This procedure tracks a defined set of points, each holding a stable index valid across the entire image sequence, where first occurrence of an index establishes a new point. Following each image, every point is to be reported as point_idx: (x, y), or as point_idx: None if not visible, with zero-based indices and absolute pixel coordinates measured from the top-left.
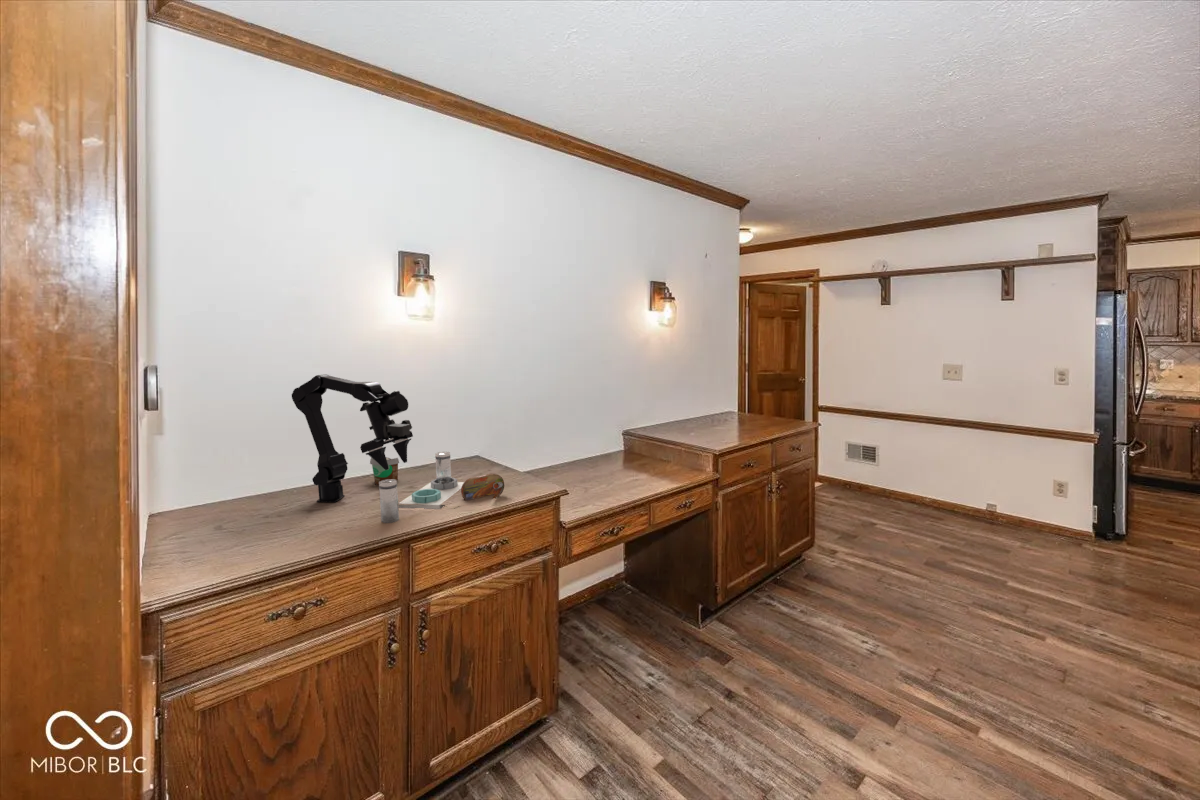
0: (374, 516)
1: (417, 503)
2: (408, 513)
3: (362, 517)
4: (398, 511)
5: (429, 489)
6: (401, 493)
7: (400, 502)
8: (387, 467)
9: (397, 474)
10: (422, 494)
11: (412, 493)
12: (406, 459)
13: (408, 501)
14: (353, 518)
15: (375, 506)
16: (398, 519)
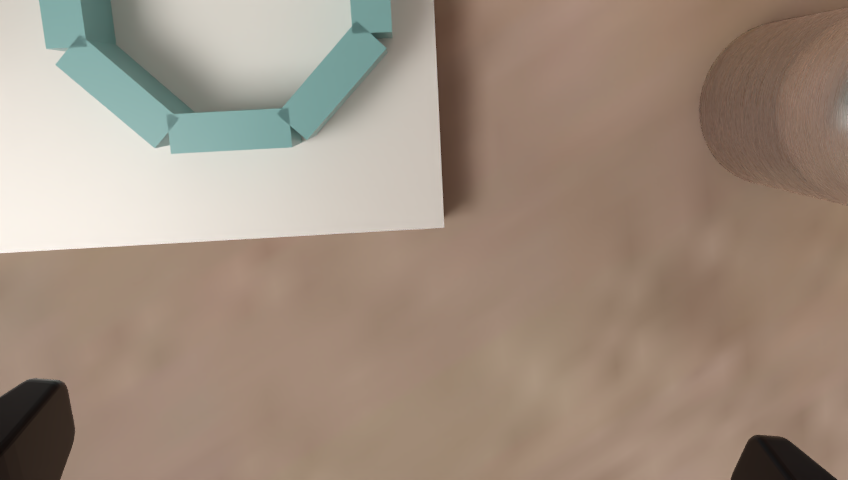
0: (695, 310)
1: (413, 7)
2: (580, 25)
3: (729, 399)
4: (799, 19)
5: (68, 7)
6: None
7: (412, 220)
8: (811, 462)
9: None
10: (154, 82)
11: (275, 146)
12: (13, 409)
13: (367, 149)
14: None
15: (436, 460)
16: (773, 22)
